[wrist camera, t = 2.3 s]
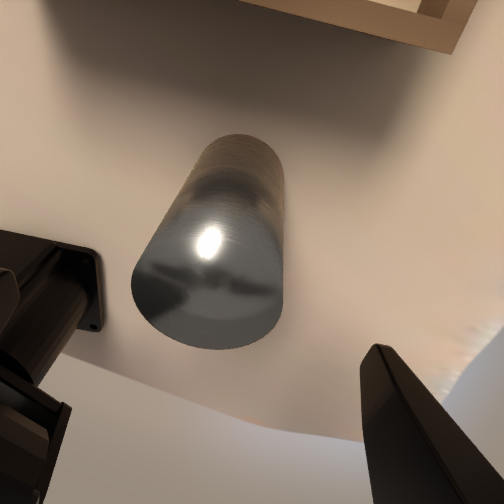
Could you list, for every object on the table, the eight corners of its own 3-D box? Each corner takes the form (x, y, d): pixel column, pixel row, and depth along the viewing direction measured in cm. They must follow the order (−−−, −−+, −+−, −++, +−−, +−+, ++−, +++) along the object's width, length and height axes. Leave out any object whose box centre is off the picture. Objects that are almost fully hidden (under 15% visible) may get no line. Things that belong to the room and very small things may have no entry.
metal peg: (271, 224, 17) (263, 360, 10) (192, 207, 16) (131, 334, 10) (294, 146, 14) (302, 257, 8) (201, 124, 14) (129, 220, 8)
